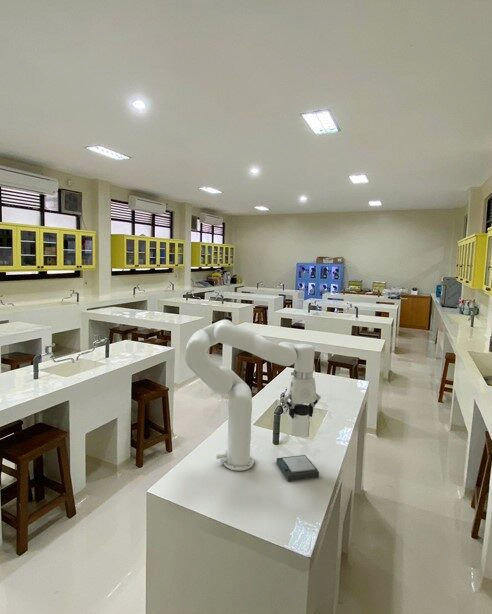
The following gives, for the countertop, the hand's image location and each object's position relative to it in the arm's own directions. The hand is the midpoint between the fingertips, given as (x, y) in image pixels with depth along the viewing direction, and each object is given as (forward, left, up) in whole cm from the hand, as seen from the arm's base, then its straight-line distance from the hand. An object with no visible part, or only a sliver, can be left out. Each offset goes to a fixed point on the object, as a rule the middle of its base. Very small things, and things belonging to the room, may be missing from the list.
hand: (300, 415), depth 154 cm
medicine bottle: (0, 0, -8) cm, 8 cm away
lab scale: (-2, -4, -22) cm, 22 cm away
